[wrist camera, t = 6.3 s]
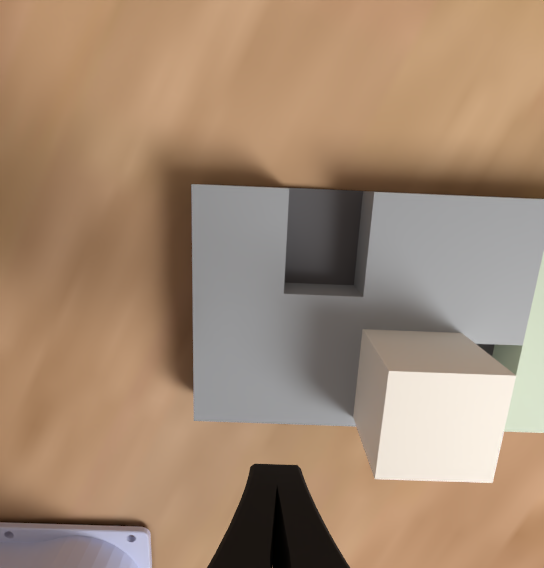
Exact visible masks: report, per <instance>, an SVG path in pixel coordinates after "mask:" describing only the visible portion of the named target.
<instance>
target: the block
mask: <svg viewBox="0 0 544 568" xmlns="http://www.w3.org/2000/svg"><path fill="white" fill-rule="evenodd" d="M515 379H516V375H515V374H514V373H512V372H511V371H510V370H508V369H507V368H506V367H505V366H503V365H502V364H501V363H500V362H498V361H497V360H496V359H494V358H493V357H492V356H491V355H489V354H488V353H487V352H485V351H484V350H483V349H482V348H480V347H479V346H478V345H477V344H475V343H474V342H473V341H471V340H470V339H469V338H468V337H466V336H465V335H464V334H462V333H450V332H423V331H397V330H370V329H363V330H362V339H361V348H360V358H359V367H358V376H357V385H356V395H355V404H354V413H353V418H354V421H355V424H356V427H357V430H358V433H359V435H360V438H361V441H362V444H363V447H364V450H365V452H366V455H367V458H368V461H369V464H370V467H371V469H372V472H373V475H374V478H375V479H389V480H419V481H450V482H481V483H493V479H494V474H495V470H496V465H497V461H498V456H499V452H500V447H501V443H502V438H503V434H504V429H505V425H506V420H507V416H508V411H509V407H510V402H511V398H512V393H513V388H514V384H515Z"/></svg>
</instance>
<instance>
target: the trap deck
mask: <svg viewBox="0 0 544 568" xmlns="http://www.w3.org/2000/svg"><path fill="white" fill-rule="evenodd" d="M191 193H192V288H193V383H194V421H215V422H244V423H273V424H302V425H331V426H356V424H355V421H354V418H353V413H354V404H355V395H356V385H357V376H358V367H359V358H360V348H361V339H362V330H363V329H370V330H397V331H423V332H450V333H462V334H464V335H465V336H466V337H468V338H469V339H470V340H471V341H473V342H474V343H475V344H477V345H478V346H479V347H480V348H482V349H483V350H484V351H485V352H487V353H488V354H489V355H491V356H492V357H493V358H494V359H496V360H497V361H498V362H500V363H501V364H502V365H503V366H505V367H506V368H507V369H508V370H510V371H511V372H512V373H514V374H515V375H516V379H515V384H514V388H513V393H512V398H511V402H510V407H509V411H508V416H507V420H506V425H505V429H504V431H505V432H534V433H544V199H536V198H513V197H490V196H466V195H443V194H420V193H397V192H374V191H350V190H327V189H304V188H281V187H257V186H234V185H211V184H191Z"/></svg>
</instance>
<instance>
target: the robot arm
mask: <svg viewBox="0 0 544 568" xmlns="http://www.w3.org/2000/svg"><path fill="white" fill-rule="evenodd" d="M131 535H133V536H131ZM272 566H273V568H350V567H349V565H348V564H347V562H346V561H345V559H344V557H343V556H342V554H341V552H340V551H339V549H338V547H337V545H336V544H335V542H334V540H333V538H332V537H331V535H330V533H329V531H328V529H327V527H326V525H325V523H324V522H323V520H322V518H321V516H320V514H319V512H318V510H317V508H316V506H315V504H314V501H313V499H312V497H311V495H310V492H309V490H308V488H307V485H306V483H305V480H304V477H303V474H302V471H301V469H300V468H299V467H298V465H275V464H254V465H252V466H251V467H250V472H249V476H248V480H247V484H246V487H245V490H244V492H243V495H242V498H241V500H240V503H239V505H238V507H237V510H236V512H235V514H234V517H233V519H232V521H231V523H230V526H229V528H228V530H227V532H226V534H225V535H224V537H223V539H222V541H221V543H220V545H219V547H218V549H217V551H216V553H215V555H214V557H213V558H212V560H211V562H210V564H209V565H208V567H207V568H272ZM0 568H152V556H151V535H150V531H149V530H148V529H147V528H145V527H136V526H103V525H70V524H38V523H5V522H0Z"/></svg>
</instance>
